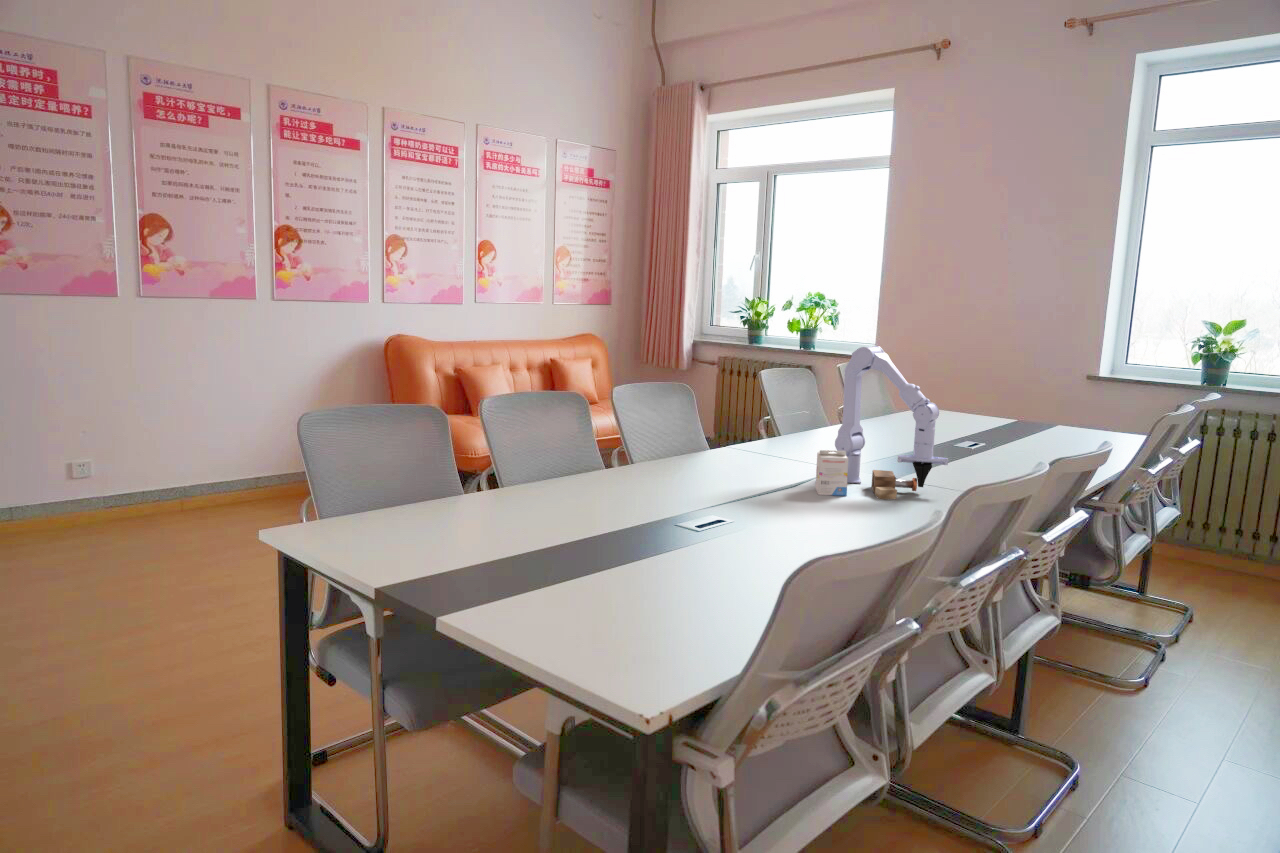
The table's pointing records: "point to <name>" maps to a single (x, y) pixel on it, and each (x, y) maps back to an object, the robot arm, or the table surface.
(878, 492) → the block
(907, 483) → the pin
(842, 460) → the ink box
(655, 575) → the table surface
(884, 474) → the block
